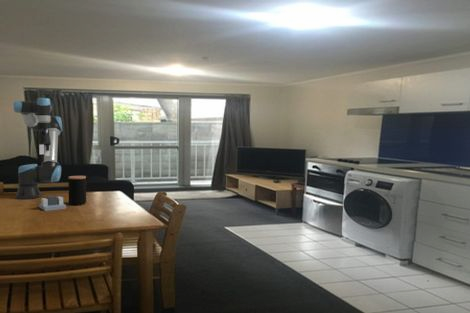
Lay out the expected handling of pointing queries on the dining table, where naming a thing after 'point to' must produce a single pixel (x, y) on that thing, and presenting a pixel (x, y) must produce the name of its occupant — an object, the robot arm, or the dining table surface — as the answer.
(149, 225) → the dining table surface
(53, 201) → the dark gray block
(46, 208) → the board
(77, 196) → the coffee jar
